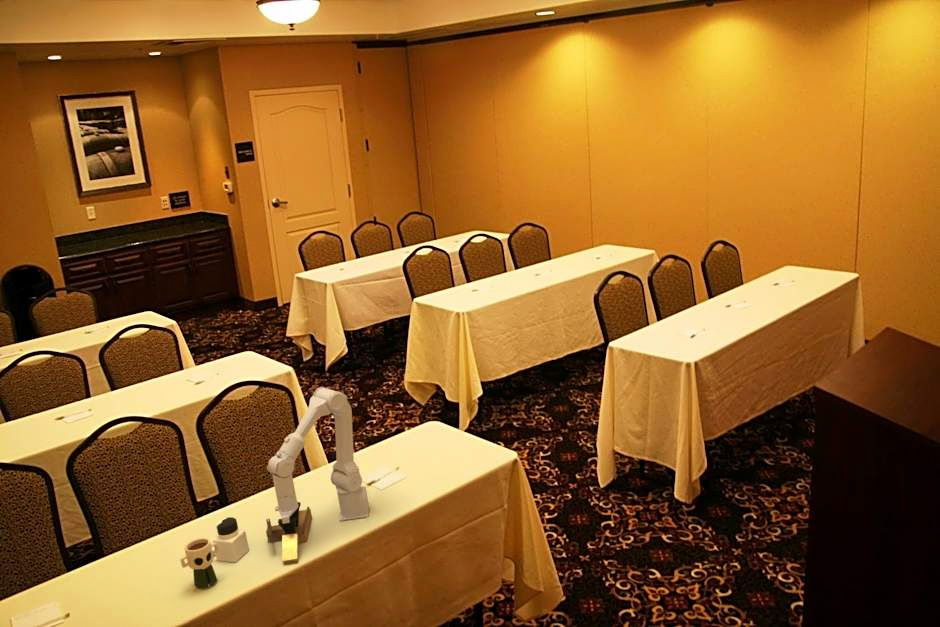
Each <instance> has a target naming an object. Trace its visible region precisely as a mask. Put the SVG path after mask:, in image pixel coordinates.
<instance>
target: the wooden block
mask: <svg viewBox="0 0 940 627" xmlns="http://www.w3.org/2000/svg"><path fill="white" fill-rule="evenodd" d="M281 542H282V544H281V560H282V564H289V563H296V562H299V544H298V534H297V533H295V534H288V535H282V541H281Z"/></svg>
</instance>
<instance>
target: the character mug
mask: <svg viewBox="0 0 940 627" xmlns="http://www.w3.org/2000/svg"><path fill="white" fill-rule="evenodd" d="M213 548H215V549H214V550H213ZM217 552H218V546H217V543H216V542H214V543H213V542H211V540H210V538H206V537H201V538H196V539H193V540H190V541H188V542H187V544H186V545H185V546H184V553H185V555H184V556H181V557H180V565H181V567H182V568H183V569H184V568H186V567H189V569H191V570H193V583H194V586H195V587H196V588H197V589H199V590H200V589H203V590H204V589H208V588H209V587H210V586H209V585H210V584H211V586H213V585H215V583H217V581H218V578H217V575H216V572H215V570H214V567H213V564H212V563H213V562H214V559H215V557H214V555H216V553H217ZM185 560H186V561H187V562H185Z"/></svg>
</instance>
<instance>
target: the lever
mask: <svg viewBox="0 0 940 627" xmlns="http://www.w3.org/2000/svg"><path fill="white" fill-rule="evenodd" d="M265 520H266V528H267V527H268V533H269V539H270V544H272V543H274V541H273V534H272V527H271V526H272V522H271V518H266V519H265Z"/></svg>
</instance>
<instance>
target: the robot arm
mask: <svg viewBox="0 0 940 627" xmlns="http://www.w3.org/2000/svg"><path fill="white" fill-rule="evenodd" d="M331 414H333V415H334V430H335V432H334V433H335V434H334V435H335V453H336V454H335V456H336V457H335V458H336V461H335V463H333V465H332V472H331V475H330V481H331V484H332V485H334V486H335V489H336V493H337V499H338V503H339V508H340V509H339V510H340V512H339V519H338V520H339V522H341V521H342V522H343V521H349V520H357V519H361V518H368V517H369V516H370V515H369V514H370V503H369V497H368V491H367V487H366V486H362V484H363V478H362V475H361V473H360V468H359V466H358V465H357V464H356V462H355V459H354V458H355V457H354V437H353V436H354V435H353V413H352V407H351V405H350V403H349V400H348V396H347V395H346V394H344V393H343V392H341V391H339V390H338V391H337V390H333V389H330V388H327V387H326V386H325V387H324V386H320V387H318V388H317V389H315V391H314V392H313V394H312V396H311V397H310V399H309V405H308V407H307V409H306V411H305V413H304V414H303V415H302V416H303V417H302V418H301V419H300V423H299V424H298V425H297V428H296V429H295V431H294V432H292V433H290V434H288V435H287V436H286V437H285V438H284V439H283V440H284V442H283V443H282V445H281V447H280V448H279V450H278V451H277V452H276V454H275V455H274V456H272V457H271V458H270V459H269V460H268V465H267V466H266V469H267V471H268V472H269V473H271V475H272V481H273V485H274V490H275V496H276V502H277V506H275V508H274V511H275V512H279V514H280V516H281V518H278V520H277V525H280V526H281V527H282V529H283V530H284V532H285V534H286V535H288V534H295V533H296V530H295V527H298V524H299V511H300V508H301V504H302V503H301V502H300V501H298V500H297V493H296V488H295V483H294V478H293V472H294V470H295V462H296V459H297V458H298V456H299V454H300V453H301V451H302V450H303V448H304V446H305V445H306V441H305V438H306V436H307V435H308V434H309V432H310V431H311V429H312V428H313V427H314V425H315V424H316V422H317V421H318V419H319V418H321V417H324V416H329V415H331Z"/></svg>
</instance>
